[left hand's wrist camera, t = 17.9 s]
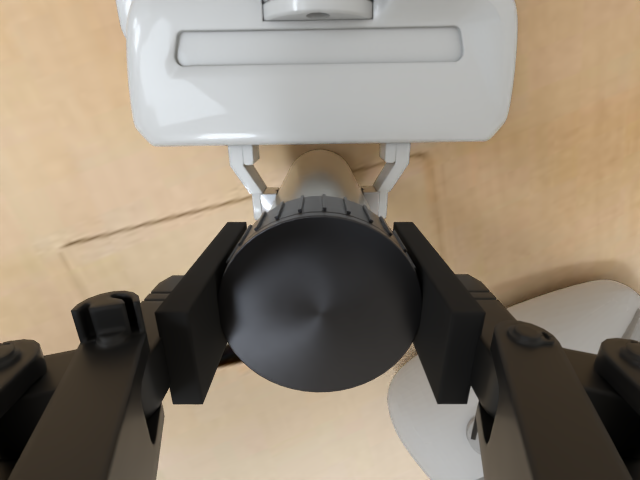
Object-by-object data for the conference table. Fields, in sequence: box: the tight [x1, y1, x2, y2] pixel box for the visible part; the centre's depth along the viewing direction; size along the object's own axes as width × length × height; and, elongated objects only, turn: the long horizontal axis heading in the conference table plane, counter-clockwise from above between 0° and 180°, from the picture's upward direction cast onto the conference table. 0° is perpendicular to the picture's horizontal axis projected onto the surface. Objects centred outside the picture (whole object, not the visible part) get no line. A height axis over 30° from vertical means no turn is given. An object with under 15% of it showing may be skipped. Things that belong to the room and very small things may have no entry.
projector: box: [387, 280, 640, 480], centre depth 27 cm, size 22×23×15 cm
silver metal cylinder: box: [269, 149, 371, 211], centre depth 19 cm, size 5×5×18 cm
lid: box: [218, 194, 422, 392], centre depth 11 cm, size 6×6×2 cm
